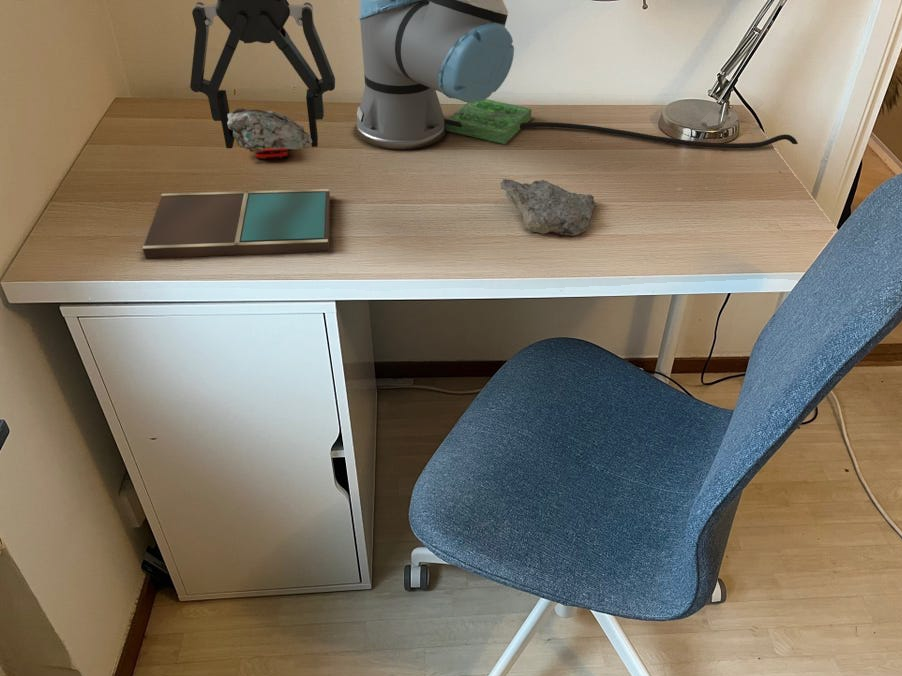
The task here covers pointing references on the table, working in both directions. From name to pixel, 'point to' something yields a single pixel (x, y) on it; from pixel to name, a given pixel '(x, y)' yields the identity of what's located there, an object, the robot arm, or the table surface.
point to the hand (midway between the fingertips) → (272, 143)
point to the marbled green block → (490, 120)
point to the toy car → (272, 153)
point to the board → (239, 223)
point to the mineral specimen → (266, 130)
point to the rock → (550, 207)
